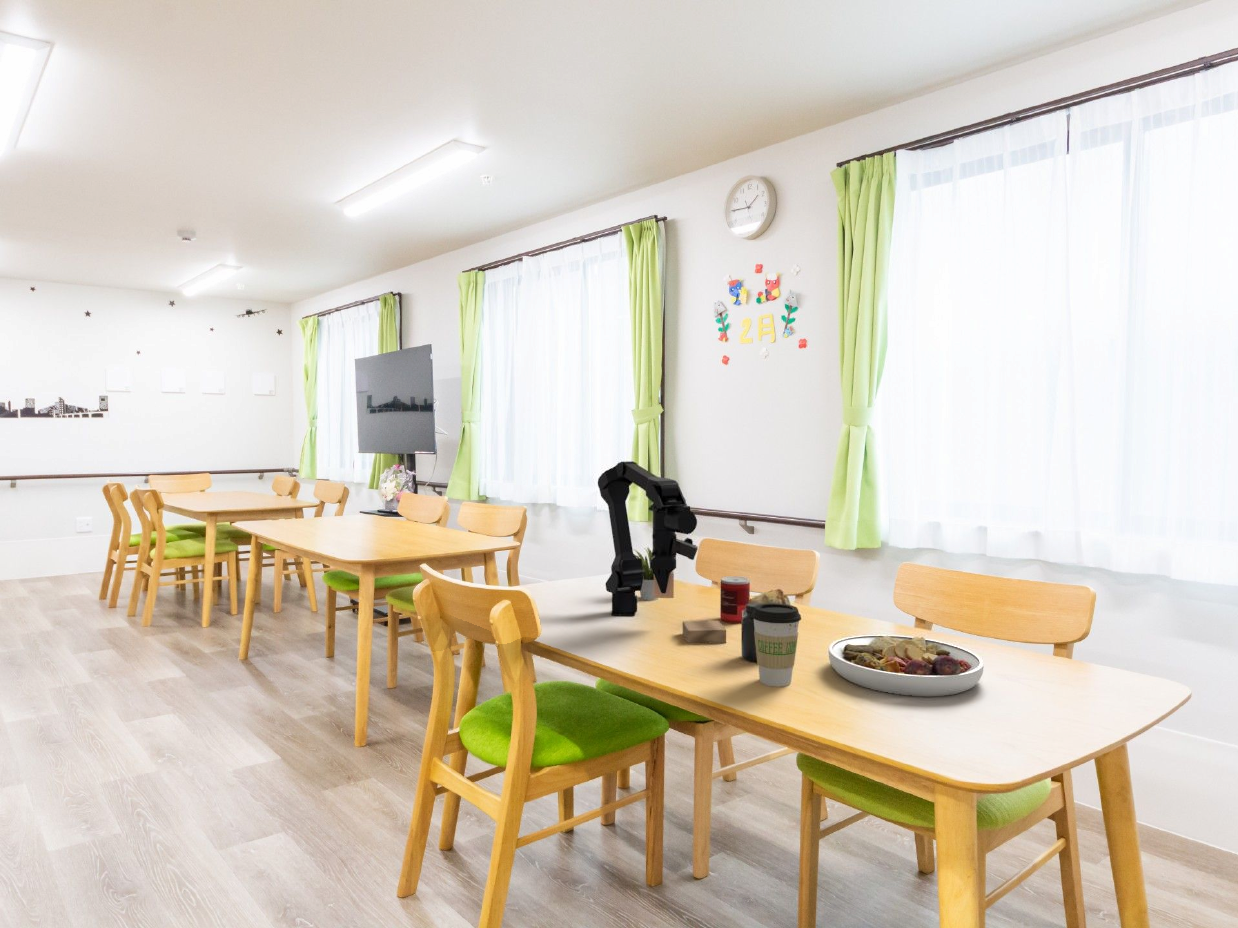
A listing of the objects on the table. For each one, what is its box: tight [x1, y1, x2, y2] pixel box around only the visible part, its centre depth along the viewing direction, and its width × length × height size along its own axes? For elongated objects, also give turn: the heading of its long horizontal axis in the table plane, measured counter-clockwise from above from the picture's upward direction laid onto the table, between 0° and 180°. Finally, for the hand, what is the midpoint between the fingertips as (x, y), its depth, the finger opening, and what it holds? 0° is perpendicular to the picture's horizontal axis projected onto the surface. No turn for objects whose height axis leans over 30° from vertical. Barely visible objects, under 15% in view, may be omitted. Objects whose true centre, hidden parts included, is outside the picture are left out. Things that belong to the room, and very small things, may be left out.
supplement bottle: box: [740, 603, 763, 663], centre depth 174 cm, size 7×7×12 cm
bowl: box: [828, 634, 984, 697], centre depth 162 cm, size 30×30×8 cm
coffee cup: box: [751, 603, 802, 688], centre depth 158 cm, size 10×10×15 cm
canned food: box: [719, 576, 751, 624], centre depth 209 cm, size 8×8×11 cm
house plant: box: [632, 547, 659, 601], centre depth 235 cm, size 14×14×16 cm
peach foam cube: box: [654, 570, 675, 599], centre depth 199 cm, size 5×5×6 cm
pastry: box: [749, 588, 791, 605], centre depth 213 cm, size 14×12×8 cm
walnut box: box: [682, 620, 727, 645], centre depth 191 cm, size 9×9×4 cm
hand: (663, 590), depth 199 cm, fingers closed on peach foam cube, 5 cm apart
